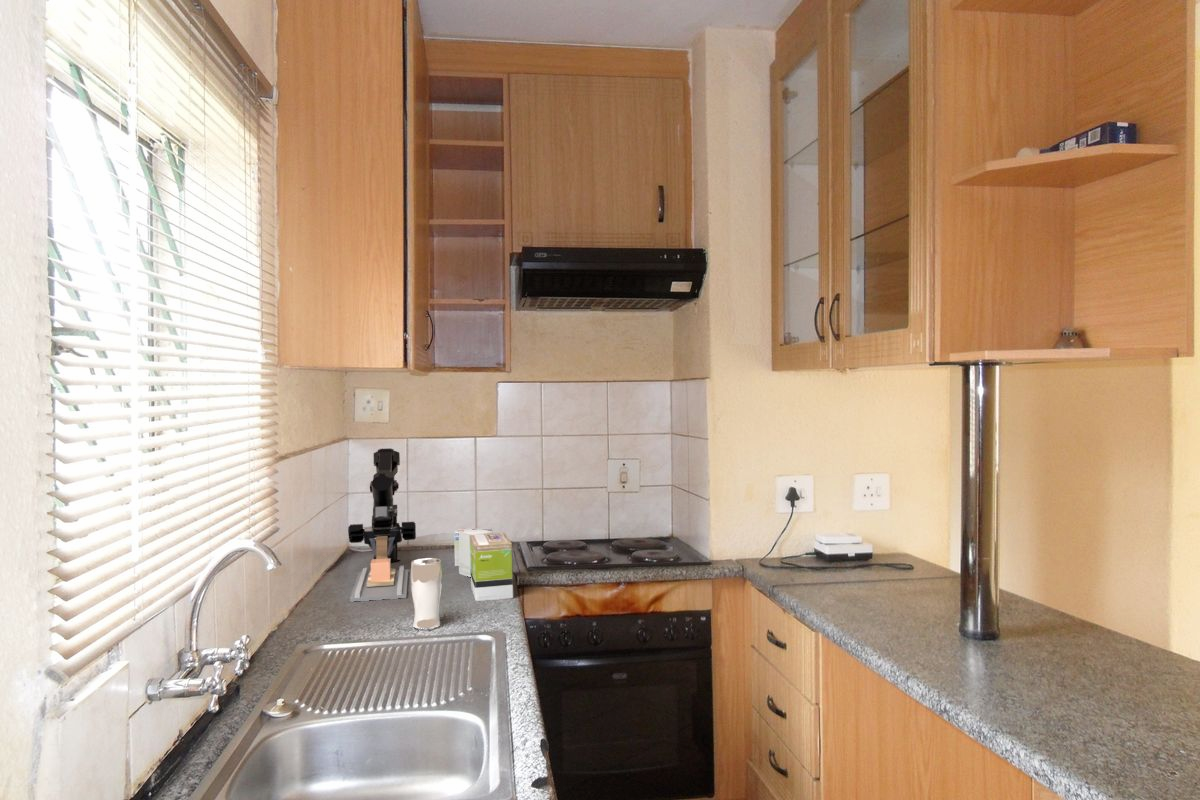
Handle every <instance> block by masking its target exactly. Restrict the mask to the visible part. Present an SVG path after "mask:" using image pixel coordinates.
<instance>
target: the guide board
mask: <svg viewBox="0 0 1200 800" xmlns="http://www.w3.org/2000/svg"><path fill="white" fill-rule="evenodd" d="M369 573H370V571H368V567H363V568H362V571H359V572H358V574H357V577H356V580H355V582H354V585H353V587H352V590H351V594H350V597H349V603H355V602H354V601H361V602H370V601H369V600H376V601H383V600H382V599H390V600H399V599H398V598H405V599H407V598H408V597H407V596H408V595H407V594H408V581H409V569H406V568H405V565H399V569H396V573H395V580H394V585H388V586H373V587H367V580H368V577H369ZM406 597H407V598H406Z"/></svg>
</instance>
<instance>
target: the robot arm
mask: <svg viewBox="0 0 1200 800" xmlns="http://www.w3.org/2000/svg"><path fill="white" fill-rule="evenodd" d="M400 465H401V455H400V452H399V451H396V450H395V449H394V448H379V449H377V451H375V452H374V453H373V467H375V470H376V472H375V473H374V474H373V476H372V477H373V478H372V480H370V484H369V492H370V493H372V499H373V504H372V505H373V506H372V516H371V526H364V524H363V523H353V524H350V525H348V528H347V535H348V542H349V543H351V544H354V543H362V542H363V543H364V545H368V546H369V548H370V549H371V551H372V554H373V559H376V537H380V536H388V550H387V557H388V558H390V559H391V563H395V562H400V561H401V558H398V543H401V542H402V541H403V540H404V541H414V540H416V539H417V536H416V535H417V534H416V531H417V530H416V525H417V524H416V523H415V521H413V520H412V521H402V522H401V525H400V522H398V504H394V495H395V493H397V492H398V490H399V487H400V483H399V482H398V481H397V479H395V476H396V475H397V473H398V472H399V471H398V469H399V468H398V467H399V466H400Z"/></svg>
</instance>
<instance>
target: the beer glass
mask: <svg viewBox="0 0 1200 800" xmlns="http://www.w3.org/2000/svg"><path fill="white" fill-rule="evenodd" d="M441 561H442V560H441V559H440V558H438V557H437V558H435V557H424V558H421V557H420V558H417V559H413V560H411V561H410V563H411V566H410V591H411V595H412V603H413V606H414V618H413V624H412V627H415V628H421V629H422V628H423V629H424V628H425V629H426V628H434V627H438V626H440V627H441V625H440V624H441V619H440V613H439V609H440V608H439V607H440V600H441V593H442V588H443V587H442V586H443V585H442V584H443V573H442V562H441Z"/></svg>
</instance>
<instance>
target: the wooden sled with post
mask: <svg viewBox="0 0 1200 800" xmlns="http://www.w3.org/2000/svg"><path fill="white" fill-rule="evenodd" d="M375 539H376V559H388V557H387V550H388V536H380V537H376V538H375ZM396 570H397V569H396V568H391V578H390V580H389V581H373V582H371V569H369V572H370V573H369V577H368V580H367V587H373V586H388V585H394V580H395V573H396Z"/></svg>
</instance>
